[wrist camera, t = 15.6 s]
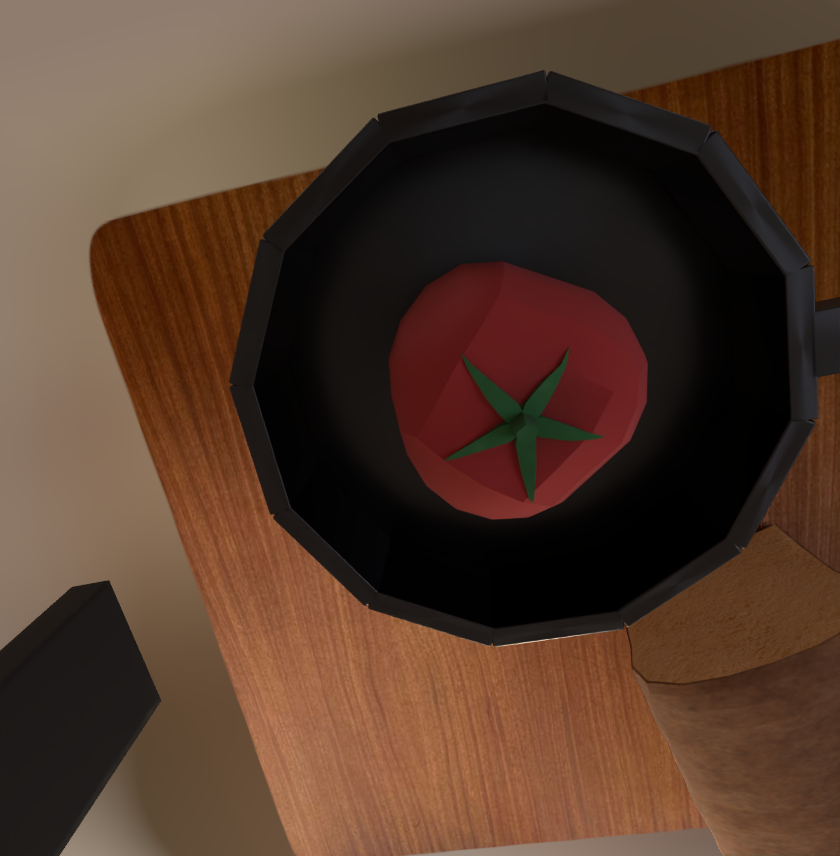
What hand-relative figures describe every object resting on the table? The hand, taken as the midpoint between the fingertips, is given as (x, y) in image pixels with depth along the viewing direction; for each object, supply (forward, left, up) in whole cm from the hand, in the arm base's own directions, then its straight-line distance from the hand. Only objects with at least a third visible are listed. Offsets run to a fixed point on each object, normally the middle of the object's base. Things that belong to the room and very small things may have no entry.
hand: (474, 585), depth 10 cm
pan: (-1, +7, -42) cm, 42 cm away
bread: (+40, +20, -42) cm, 61 cm away
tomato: (-1, +1, -13) cm, 13 cm away
